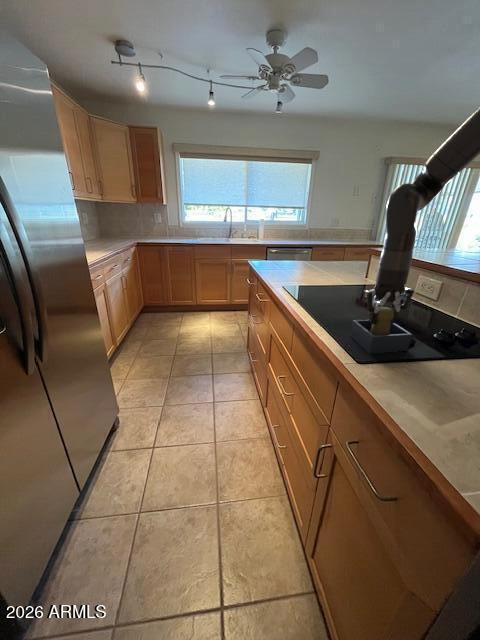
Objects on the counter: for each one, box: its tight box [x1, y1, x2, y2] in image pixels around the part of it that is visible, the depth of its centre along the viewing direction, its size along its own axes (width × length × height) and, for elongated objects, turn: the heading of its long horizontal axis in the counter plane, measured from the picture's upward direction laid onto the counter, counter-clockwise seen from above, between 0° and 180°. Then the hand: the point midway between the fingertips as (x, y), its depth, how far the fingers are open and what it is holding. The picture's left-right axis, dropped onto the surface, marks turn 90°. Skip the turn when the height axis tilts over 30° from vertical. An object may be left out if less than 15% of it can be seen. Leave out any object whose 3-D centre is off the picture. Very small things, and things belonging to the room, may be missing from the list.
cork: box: [370, 306, 394, 336], centre depth 78 cm, size 6×6×11 cm
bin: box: [349, 319, 413, 355], centre depth 79 cm, size 12×12×6 cm
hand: (381, 322), depth 78 cm, fingers closed on cork, 5 cm apart
